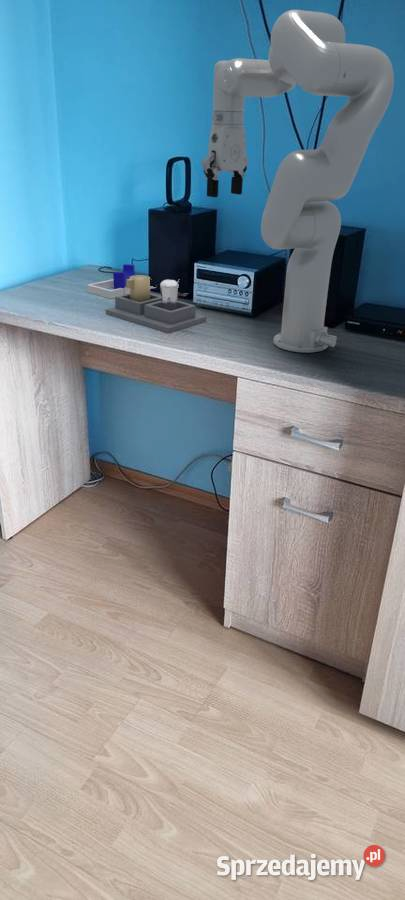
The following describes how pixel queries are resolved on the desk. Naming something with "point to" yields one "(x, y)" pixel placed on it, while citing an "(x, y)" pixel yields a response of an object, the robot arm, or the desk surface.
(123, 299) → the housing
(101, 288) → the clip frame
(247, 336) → the desk surface
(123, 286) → the blue stepped block
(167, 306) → the milkshake
